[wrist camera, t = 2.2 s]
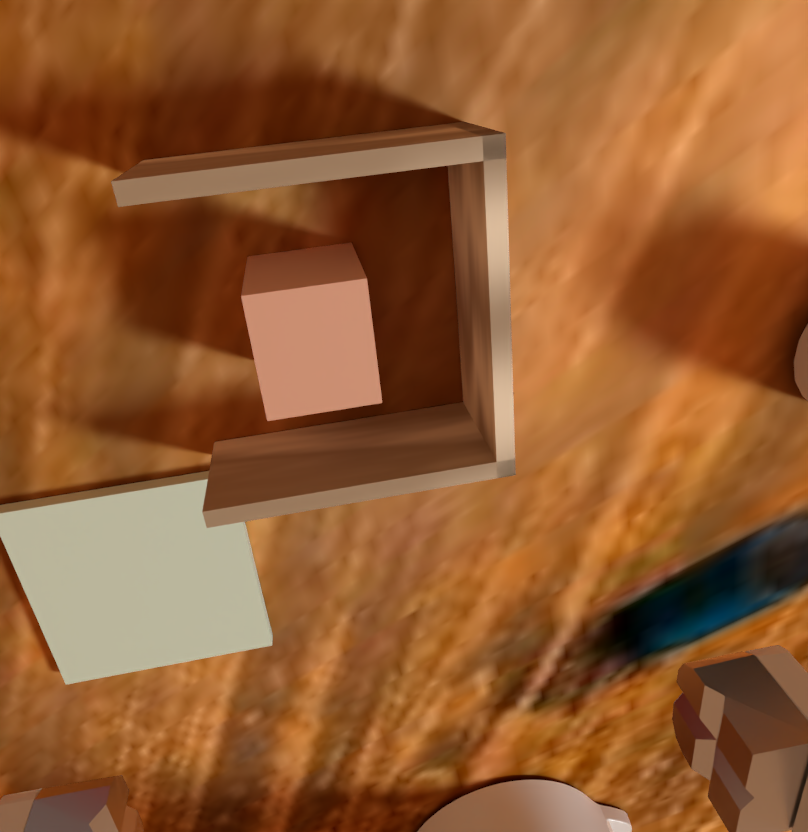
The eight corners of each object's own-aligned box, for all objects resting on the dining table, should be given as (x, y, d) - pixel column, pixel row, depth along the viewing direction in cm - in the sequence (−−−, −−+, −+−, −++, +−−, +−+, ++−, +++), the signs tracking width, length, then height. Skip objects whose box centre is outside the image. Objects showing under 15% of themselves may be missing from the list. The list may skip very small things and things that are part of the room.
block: (365, 348, 33) (382, 402, 27) (268, 363, 32) (267, 421, 27) (351, 242, 31) (366, 278, 25) (247, 256, 30) (240, 296, 25)
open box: (479, 413, 35) (515, 475, 30) (217, 456, 34) (206, 528, 29) (463, 121, 29) (505, 133, 24) (143, 160, 28) (111, 181, 22)
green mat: (272, 635, 39) (272, 645, 39) (69, 673, 38) (65, 684, 37) (231, 467, 34) (230, 475, 34) (-4, 505, 33) (-10, 514, 32)
